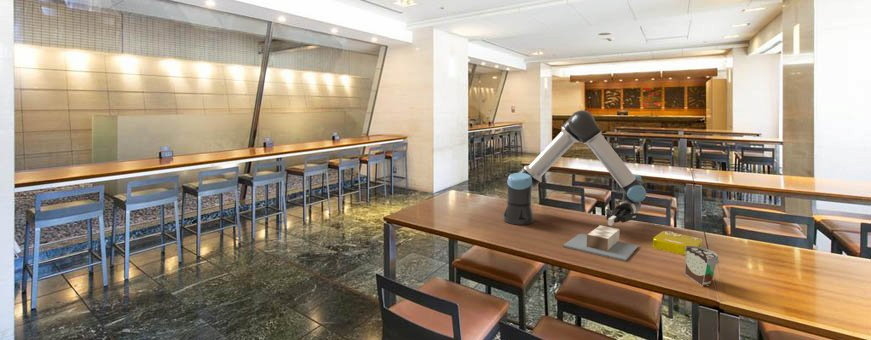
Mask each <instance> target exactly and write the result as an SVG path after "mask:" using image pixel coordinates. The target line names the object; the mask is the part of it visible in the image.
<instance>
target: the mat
mask: <svg viewBox="0 0 871 340" xmlns="http://www.w3.org/2000/svg"><path fill="white" fill-rule="evenodd" d="M586 245H587V234H585V233H581V232H580V233H578V234H577V235H576V236H574V237H572V238H571V239H570V240H568V241H566V243H563V245H562V247H563V248H567V249H571V250H574V251H578V252H579V251H580V252H584V253H587V254H593V255H595V256H596V255H597V256H601V257H605V258H608V257H609V258H608V259H612V260H613V259H614V260H618V261H621V262H625V263H626V262H627V261H628V260H629V259H630V257H631V256H632V255H634V253H635V252H636V251H637V250H638V248H639V244H635V243H634V244H632V243H628V242H624V241H618V242H616V243H615V244H614V245H613V246H612V247H611V248H610V249H609V250H608V251H604V250H600V249H595V248H591V247H587V246H586ZM636 249H637V250H636ZM635 250H636V251H635ZM634 251H635V252H634Z"/></svg>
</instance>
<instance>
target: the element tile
mask: <svg viewBox="0 0 871 340" xmlns="http://www.w3.org/2000/svg"><path fill="white" fill-rule="evenodd" d="M703 241H704V240H703V238H701V237H695V236H691V235H686V234H682V233H676V232H673V231H667V230H663V231H661V232H660V233H658V234H657V235H655V236H653V238H652V245H651V247H653V248H652V249H654V248H656V249H655V250H658V249H660V250H659V251H662V250H665V251H664V252H666V251H669V252H668V253H671V252H673V253H672V254H675V253H677V254H676V255H679V254H681V255H680V256H684V255H686V251H685V247H686V246H696V247H701V248H703Z"/></svg>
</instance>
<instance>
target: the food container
mask: <svg viewBox="0 0 871 340" xmlns="http://www.w3.org/2000/svg"><path fill="white" fill-rule="evenodd" d="M685 251H686V255H685V256H684V257H685V260H684V275H685V276H687V277H688V278H689V277H690V279H691V280H693V282H695V281H696V282H697V283H696V282H695V283H696V284H698V283H699V284H701V285H702V286H707V285H710V284H711V285H712V283H713V277H714V273H715V269H716V265H717V264H719V263H720V261H719V256H718V254H717V253H716V252H715V251H713V250H711V249H708V248H705V247H702V248H701V247H696V246H686V247H685ZM699 284H698V285H699ZM701 285H700V286H701ZM711 285H710V286H711ZM702 286H701V287H702ZM707 287H708V286H707Z"/></svg>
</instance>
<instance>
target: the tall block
mask: <svg viewBox="0 0 871 340" xmlns="http://www.w3.org/2000/svg"><path fill="white" fill-rule="evenodd" d="M620 231H621V230H620V228H616V227H612V226H606V225H600V224H599V225H598V227H596V228H594V229H593V230H592V231H590V232H589V233H587V234H586V235H587V245H586V246H587V247H591V248H595V249H600V250H604V251H608V250H609V249H610V248H611V247H612V246H613V245H614V244H615V243H616V242H618V241H619V240H620Z"/></svg>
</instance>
